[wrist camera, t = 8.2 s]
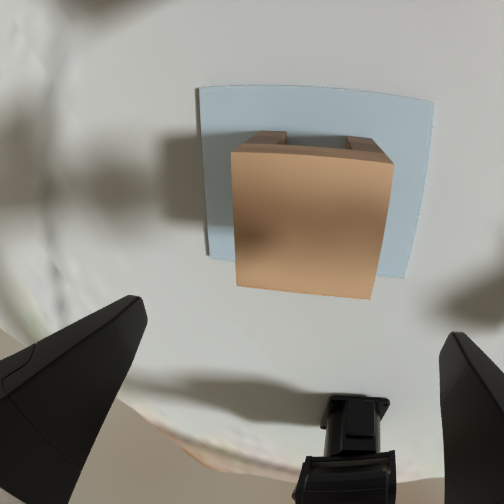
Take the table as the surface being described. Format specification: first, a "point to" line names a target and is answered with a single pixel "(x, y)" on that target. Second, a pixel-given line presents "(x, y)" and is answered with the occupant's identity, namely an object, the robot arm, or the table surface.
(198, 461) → the table surface
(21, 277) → the table surface
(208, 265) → the table surface
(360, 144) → the light brown block
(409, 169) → the mat
